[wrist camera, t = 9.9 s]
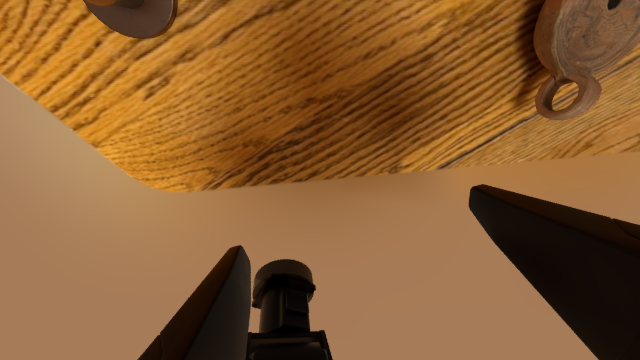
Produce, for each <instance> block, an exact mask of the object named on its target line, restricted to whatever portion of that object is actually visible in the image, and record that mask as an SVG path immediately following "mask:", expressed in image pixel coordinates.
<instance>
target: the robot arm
mask: <svg viewBox="0 0 640 360" xmlns="http://www.w3.org/2000/svg"><path fill="white" fill-rule="evenodd" d="M469 208H470V210H471V211H472V213H473V214H474V216H475V217H476V218H477V220H478V221H479V223H480V224H481V225H482V227H483V228H484V229H485V231H486V232H487V234H488V235H489V236H490V238H491V239H492V240H493V242H494V243H495V244H496V245H497V246H498V247H499V249H500V250H501V251H502V252H503V253H504V254H505V255H506V256H507V258H508V259H509V260H510V261H511V262H512V263H513V264H514V265H515V267H516V268H517V269H518V270H519V271H520V272H521V273H522V274H523V275H524V277H525V278H526V279H527V280H528V281H529V282H530V283H531V284H532V286H533V287H534V288H535V289H536V290H537V291H538V292H539V293H540V294H541V296H542V297H543V298H544V299H545V300H546V301H547V302H548V303H549V305H550V306H551V307H552V308H553V309H554V310H555V311H556V312H557V313H558V315H559V316H560V317H561V318H562V319H563V320H564V321H565V322H566V323H567V325H568V326H569V327H570V328H571V329H572V330H573V331H574V333H575V334H576V335H577V336H578V337H579V338H580V339H581V340H582V342H584V344H585V345H586V346H587V347H588V348H589V349H590V351H591V352H592V353H593V354H594V355H595V356H596V357H597V358H598V359H599V360H640V225H637V224H633V223H629V222H625V221H621V220H618V219H611V218H610V217H606V216H603V215H599V214H595V213H591V212H587V211H583V210H579V209H576V208H572V207H568V206H564V205H561V204H557V203H553V202H549V201H545V200H541V199H538V198H534V197H529V196H526V195H522V194H519V193H515V192H511V191H507V190H503V189H500V188H496V187H492V186H488V185H484V184H482V185H478V186H473V187H472V188H471V190H470V197H469ZM250 268H251V267H250V261H249V258H248V256H247V254H246V252H245V250H244V249H243V247H242V246H241V245H239V246H234V247H232V248H230V249H229V250H228V251H227V252H226V253H225V255H224V256H223V257H222V258H221V259H220V261H219V262H218V263H217V264H216V265H215V267H214V268H213V269H212V270H211V272H210V273H209V274H208V275H207V276H206V278H205V279H204V280H203V281H202V282H201V284H200V285H199V286H198V287H197V289H196V290H195V291H194V292H193V293H192V295H191V296H190V297H189V298H188V300H187V301H186V302H185V303H184V304H183V306H182V307H181V308H180V309H179V311H178V312H177V313H176V314H175V316H173V318H172V319H171V320H170V321H169V323H168V324H167V325H166V326H165V328H164V329H163V330H162V331H161V332H160V335H158V336H157V337H156V338H155V339H154V341H153V342H152V343H151V344H150V345H149V347H148V348H147V349H146V350H145V352H144V353H143V354H142V355H141V356H140V357H139V359H138V360H332V356H331V352H330V349H329V345H328V342H327V338H326V334H325V331H324V330H320V331H310V323H309V306H308V299H309V298H310V296H311V295H312V294H313V293H314V291H315V290H316V285H314V284H312V283H308V282H305V281H301V280H298V279H294V278H291V277H287V276H283V275H280V274H276V273H272V274H271V275H270V276H269V278H268V279H267V281H266V282H265V284H264V285H263V287H262V288H261V290H260V291H259V293H258V294H257V296H256V297H255V299H254V300H253V301H252V307H254V308H258V309H261V313H260V325H259V333H252V332H248V327H249V318H250V307H251V277H250V276H251V272H250V271H251V269H250Z"/></svg>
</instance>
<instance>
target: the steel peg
mask: <svg viewBox="0 0 640 360" xmlns="http://www.w3.org/2000/svg"><path fill="white" fill-rule="evenodd" d="M83 1H84V2H85V4H86V5H87V7H88V8H89V9H90V10H91V12H92V13H93V14H94V15H95V16H96V17H97V18H98V19H99V20H100V21H102V22H103V23H104V24H105V25H107V26H108V27H109V28H111V29H113V30H114V31H116V32H118V33H120V34H123V35H125V36H128V37H133V38H153V37H156V36H159V35H161V34H163V33H164V32H165V31H166V30H168V28H169V27H170V26H171V24H172V23H173V21H174V18H175V15H176V10H177V0H83Z"/></svg>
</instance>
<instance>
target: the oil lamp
mask: <svg viewBox="0 0 640 360" xmlns="http://www.w3.org/2000/svg"><path fill="white" fill-rule="evenodd" d="M533 42H534V48H535V51H536V54H537V56H538V58H539V60H540V62H541V63H542V64H543V66H544V67H545V68H547V69H548V70H549V71H550V73H551V76H550V77H549V78H548V79H547V80H546V81H545V82H544V83H543V84H542V86H541V87H540V89H539V91H538V93H537V96H536V99H535V104H536V109H537V111H538V113H539V114H540V115H542V116H543V117H546V118H549V119H554V120H568V119H571V118H575V117H579V116H580V115H582V114H584V113H586V112H587V111H589V110H590V109H591V108H592V107H593V106H594V105H595V104H596V102H597V101H598V99H599V97H600V94H601V90H602V89H601V85H600V83H599V82H598V81H597V80H596V79H595V78H594V76H597V75H599V74H602V73H604V72H606V71H608V70H609V69H611V68H612V67H614V66H615V65H617V64H618V62H620V61H622V60H623V59H624V58H625V57H626V56H627V55H628V54H629V53H630V52H631V51H632V50H633V49H634V48H635V47H636V46H637V45H638V44H639V43H640V0H546V1H545V2H544V4H543V6H542V8H541V10H540V13H539V16H538V19H537V22H536V26H535V31H534V37H533ZM572 82H575V83H576V84H578V87H579V93H578V96H577V98H576V99H575V100H574V102H573V103H572V104H571V105H569V106H568V107H566V108H565V109H561V110H558V111H554V110H553V109H552V100H553V97H554V95H555V94H556V92H557V90H558V89H559V88H560V87H561V86H563V85H565V84H568V83H572Z"/></svg>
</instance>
